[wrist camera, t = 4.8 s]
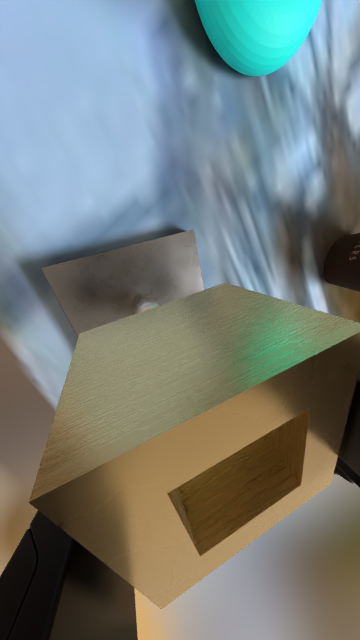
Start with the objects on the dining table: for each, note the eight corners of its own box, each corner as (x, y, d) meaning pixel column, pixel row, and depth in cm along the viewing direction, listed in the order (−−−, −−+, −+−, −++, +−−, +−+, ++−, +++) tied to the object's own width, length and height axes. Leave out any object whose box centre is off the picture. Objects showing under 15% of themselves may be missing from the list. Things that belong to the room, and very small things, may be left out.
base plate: (46, 266, 15) (16, 275, 10) (186, 230, 17) (218, 224, 12) (131, 429, 23) (137, 477, 18) (216, 388, 26) (241, 420, 21)
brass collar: (79, 333, 7) (29, 501, 2) (225, 282, 8) (370, 326, 4) (134, 436, 9) (161, 609, 5) (237, 385, 11) (331, 482, 6)
